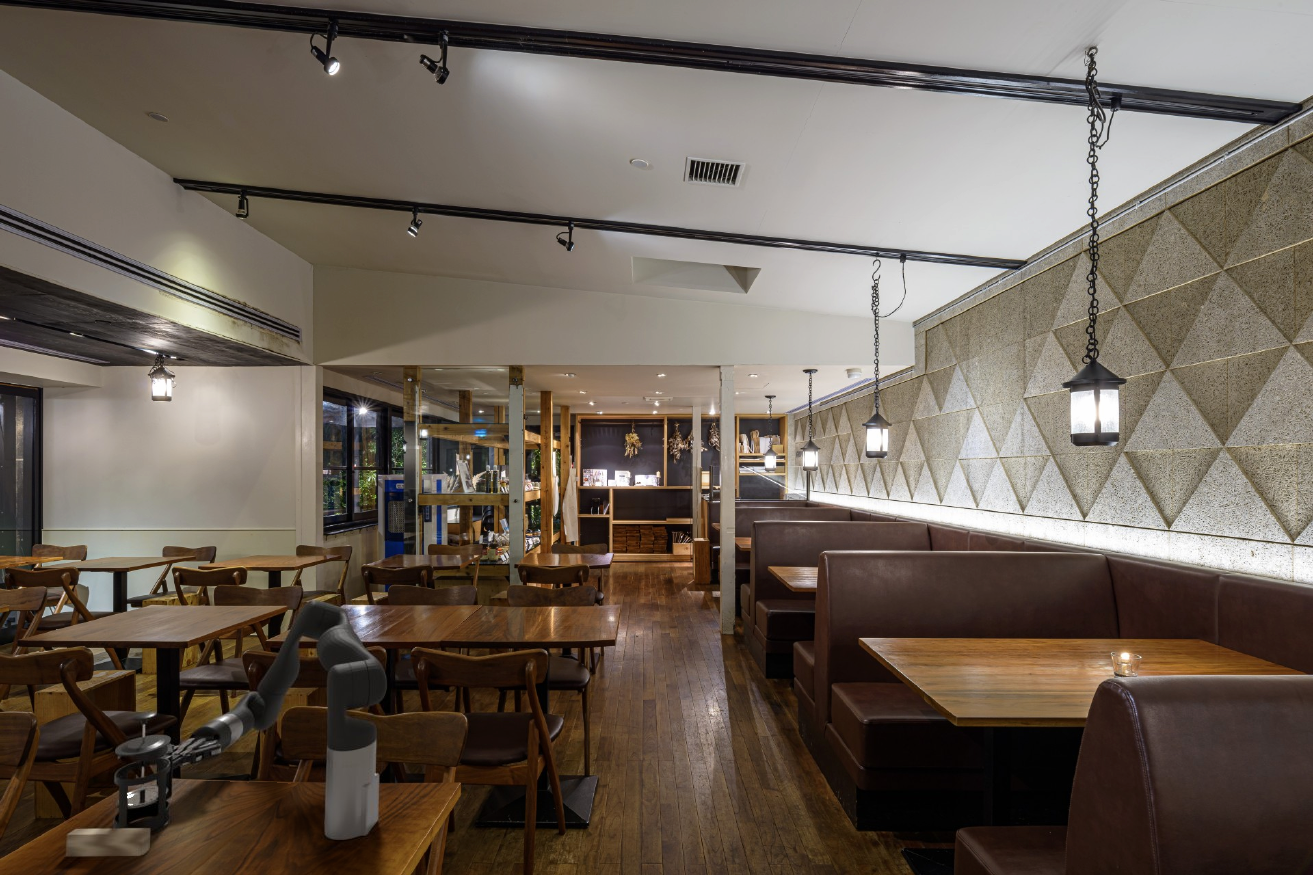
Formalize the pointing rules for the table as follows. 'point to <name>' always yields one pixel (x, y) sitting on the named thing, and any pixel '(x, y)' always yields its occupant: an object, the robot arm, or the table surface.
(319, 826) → the table surface
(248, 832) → the table surface
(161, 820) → the french press
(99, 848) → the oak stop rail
